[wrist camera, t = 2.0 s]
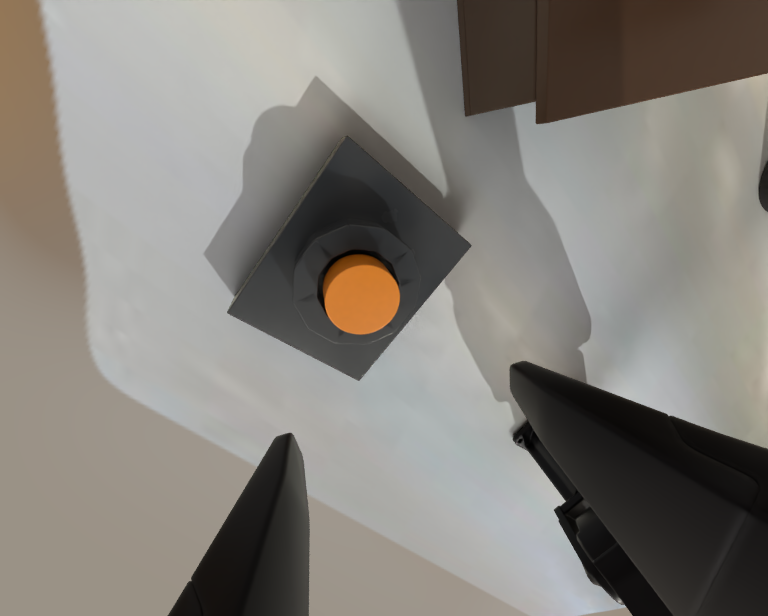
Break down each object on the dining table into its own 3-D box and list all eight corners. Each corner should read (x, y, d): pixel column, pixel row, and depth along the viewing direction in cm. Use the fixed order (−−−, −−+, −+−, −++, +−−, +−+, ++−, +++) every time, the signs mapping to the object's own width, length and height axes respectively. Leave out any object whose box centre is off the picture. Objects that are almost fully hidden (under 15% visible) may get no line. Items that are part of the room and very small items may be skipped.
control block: (354, 362, 24) (363, 399, 20) (233, 297, 20) (218, 329, 16) (456, 237, 21) (487, 253, 18) (342, 137, 18) (351, 133, 14)
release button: (364, 329, 19) (369, 346, 17) (308, 296, 17) (309, 311, 15) (404, 278, 18) (415, 291, 16) (350, 239, 16) (355, 249, 15)
